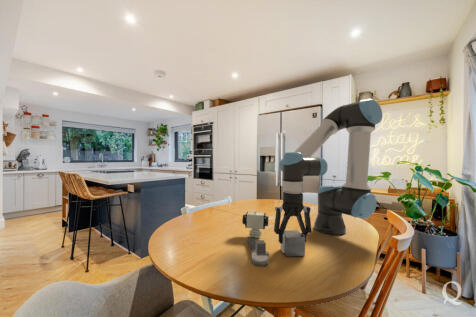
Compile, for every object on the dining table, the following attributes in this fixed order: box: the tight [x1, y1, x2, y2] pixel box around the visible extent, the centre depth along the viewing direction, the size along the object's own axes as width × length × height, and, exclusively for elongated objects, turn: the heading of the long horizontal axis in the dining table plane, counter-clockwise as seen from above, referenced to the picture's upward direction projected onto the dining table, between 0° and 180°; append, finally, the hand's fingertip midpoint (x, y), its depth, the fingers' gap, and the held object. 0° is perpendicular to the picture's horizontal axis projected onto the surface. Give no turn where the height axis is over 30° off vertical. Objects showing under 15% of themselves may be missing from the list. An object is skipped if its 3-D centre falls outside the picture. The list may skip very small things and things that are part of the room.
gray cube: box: [284, 229, 306, 257], centre depth 78 cm, size 7×7×7 cm
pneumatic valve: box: [241, 210, 269, 239], centre depth 93 cm, size 6×12×12 cm, turn 78°
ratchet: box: [247, 236, 270, 268], centre depth 77 cm, size 6×20×7 cm, turn 7°
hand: (292, 250), depth 78 cm, fingers closed on gray cube, 7 cm apart
